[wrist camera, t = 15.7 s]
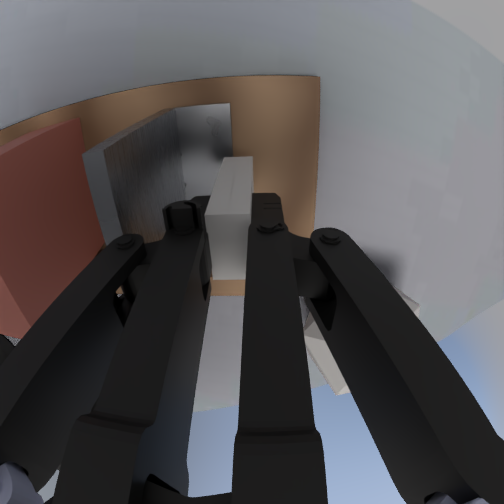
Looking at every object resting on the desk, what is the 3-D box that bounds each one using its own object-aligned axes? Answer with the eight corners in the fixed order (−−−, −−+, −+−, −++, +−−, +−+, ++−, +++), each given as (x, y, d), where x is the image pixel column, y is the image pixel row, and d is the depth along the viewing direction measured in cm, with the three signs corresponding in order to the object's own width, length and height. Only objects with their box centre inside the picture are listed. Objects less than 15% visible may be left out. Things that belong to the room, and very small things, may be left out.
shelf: (2, 260, 23) (-29, 298, 18) (-37, 148, 16) (-81, 176, 11) (309, 256, 22) (322, 317, 17) (317, 76, 15) (346, 80, 10)
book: (57, 240, 20) (-10, 331, 12) (27, 133, 15) (-77, 196, 7) (107, 237, 20) (42, 343, 12) (79, 117, 15) (-38, 179, 7)
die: (300, 333, 28) (371, 408, 22) (254, 322, 20) (352, 432, 15) (361, 266, 27) (439, 336, 21) (337, 228, 20) (454, 325, 14)
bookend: (180, 229, 20) (140, 335, 12) (163, 108, 15) (81, 154, 8) (237, 228, 19) (225, 338, 12) (230, 102, 15) (201, 138, 8)
